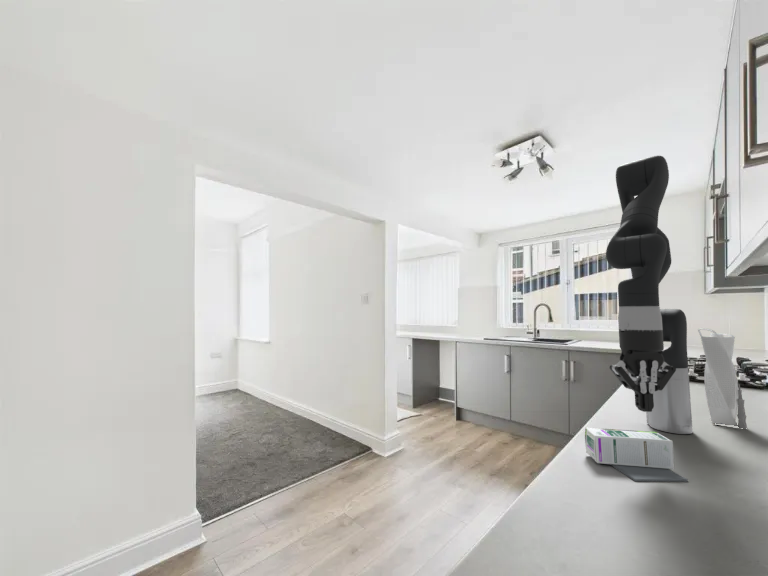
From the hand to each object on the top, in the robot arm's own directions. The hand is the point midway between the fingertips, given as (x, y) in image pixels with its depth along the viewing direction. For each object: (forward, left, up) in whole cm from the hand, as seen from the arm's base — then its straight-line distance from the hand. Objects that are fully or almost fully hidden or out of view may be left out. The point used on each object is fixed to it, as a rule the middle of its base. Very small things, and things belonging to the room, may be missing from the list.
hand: (644, 410), depth 71 cm
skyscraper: (-29, +45, -12) cm, 55 cm away
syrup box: (0, +4, -8) cm, 9 cm away
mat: (0, -2, -12) cm, 12 cm away
